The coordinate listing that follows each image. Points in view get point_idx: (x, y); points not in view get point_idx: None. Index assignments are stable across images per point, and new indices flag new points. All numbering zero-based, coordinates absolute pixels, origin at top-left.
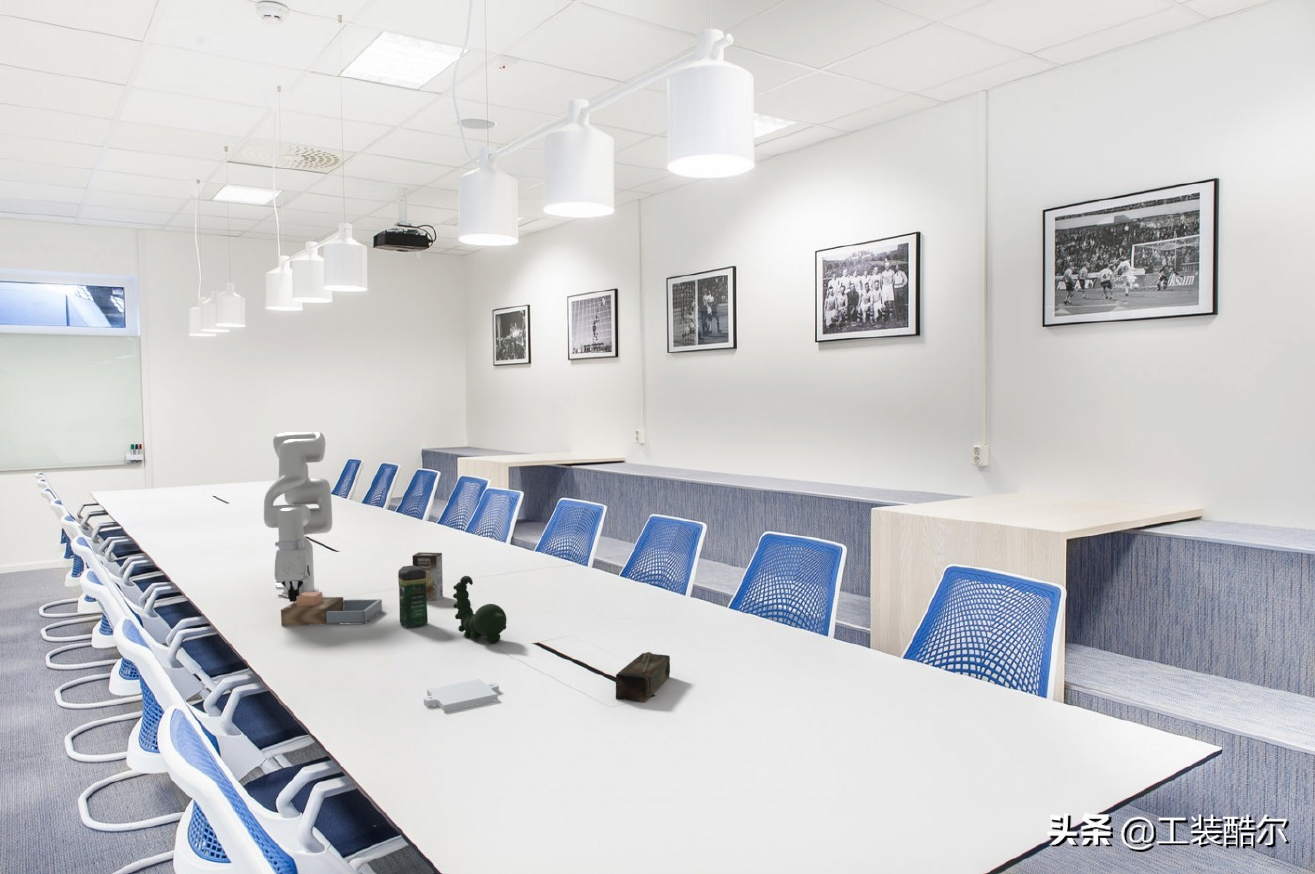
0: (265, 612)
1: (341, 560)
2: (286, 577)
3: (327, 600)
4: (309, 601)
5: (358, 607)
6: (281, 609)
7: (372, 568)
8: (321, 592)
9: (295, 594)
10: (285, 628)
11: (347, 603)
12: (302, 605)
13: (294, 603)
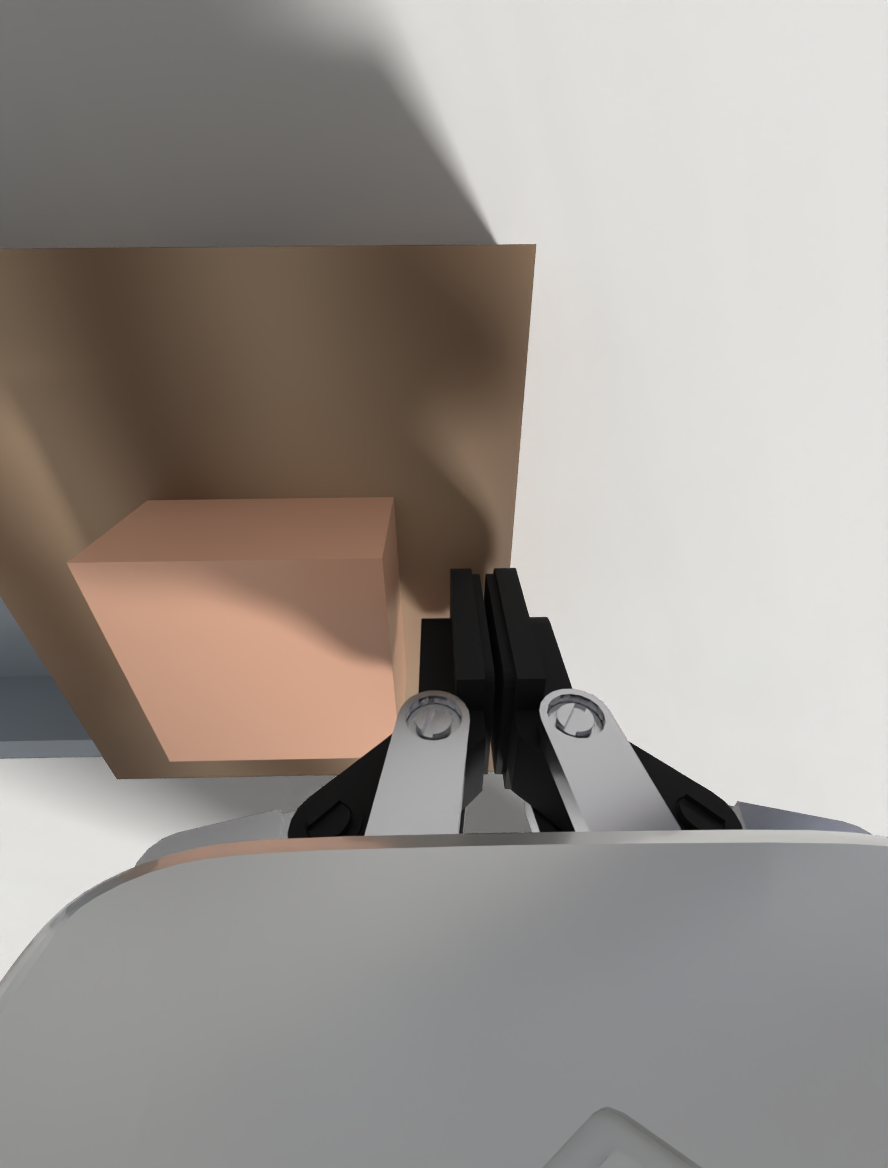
0: (752, 686)
1: None
2: (684, 953)
3: None
4: (200, 522)
5: (24, 693)
6: (533, 273)
7: None
8: (163, 744)
9: (447, 648)
10: (385, 52)
11: None
12: (318, 498)
13: None
